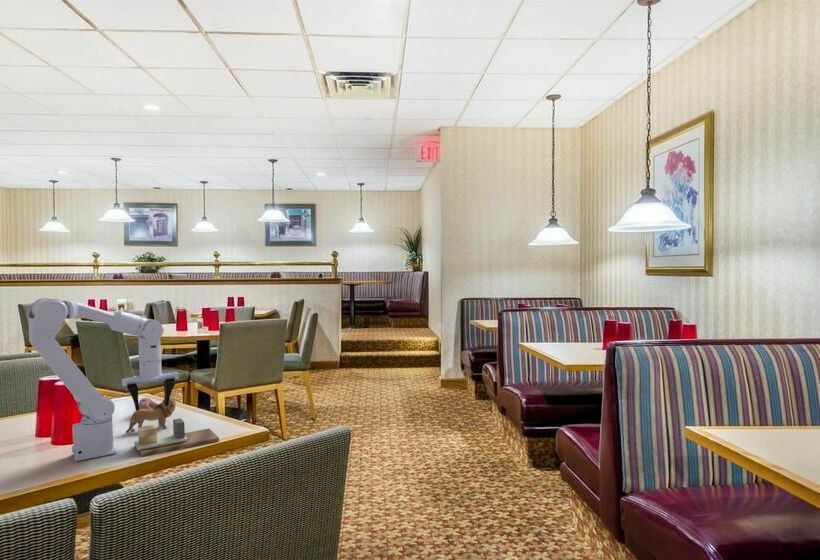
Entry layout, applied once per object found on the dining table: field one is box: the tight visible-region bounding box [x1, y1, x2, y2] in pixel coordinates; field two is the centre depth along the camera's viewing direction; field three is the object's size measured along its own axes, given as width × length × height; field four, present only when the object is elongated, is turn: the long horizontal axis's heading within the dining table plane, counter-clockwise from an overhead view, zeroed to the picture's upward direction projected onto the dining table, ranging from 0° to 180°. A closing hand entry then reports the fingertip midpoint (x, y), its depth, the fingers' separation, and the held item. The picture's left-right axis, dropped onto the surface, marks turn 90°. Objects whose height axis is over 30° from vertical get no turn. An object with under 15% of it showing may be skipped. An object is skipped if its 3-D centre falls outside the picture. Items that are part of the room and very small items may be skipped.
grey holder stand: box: [133, 417, 188, 451], centre depth 148 cm, size 12×7×5 cm, turn 124°
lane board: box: [137, 428, 220, 458], centre depth 151 cm, size 20×11×1 cm, turn 124°
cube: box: [137, 424, 158, 446], centre depth 146 cm, size 4×4×4 cm
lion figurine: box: [125, 396, 177, 434], centre depth 165 cm, size 15×5×9 cm, turn 132°
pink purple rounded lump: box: [138, 396, 159, 409], centre depth 182 cm, size 10×5×7 cm, turn 18°
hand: (152, 407), depth 154 cm, fingers open, 7 cm apart
